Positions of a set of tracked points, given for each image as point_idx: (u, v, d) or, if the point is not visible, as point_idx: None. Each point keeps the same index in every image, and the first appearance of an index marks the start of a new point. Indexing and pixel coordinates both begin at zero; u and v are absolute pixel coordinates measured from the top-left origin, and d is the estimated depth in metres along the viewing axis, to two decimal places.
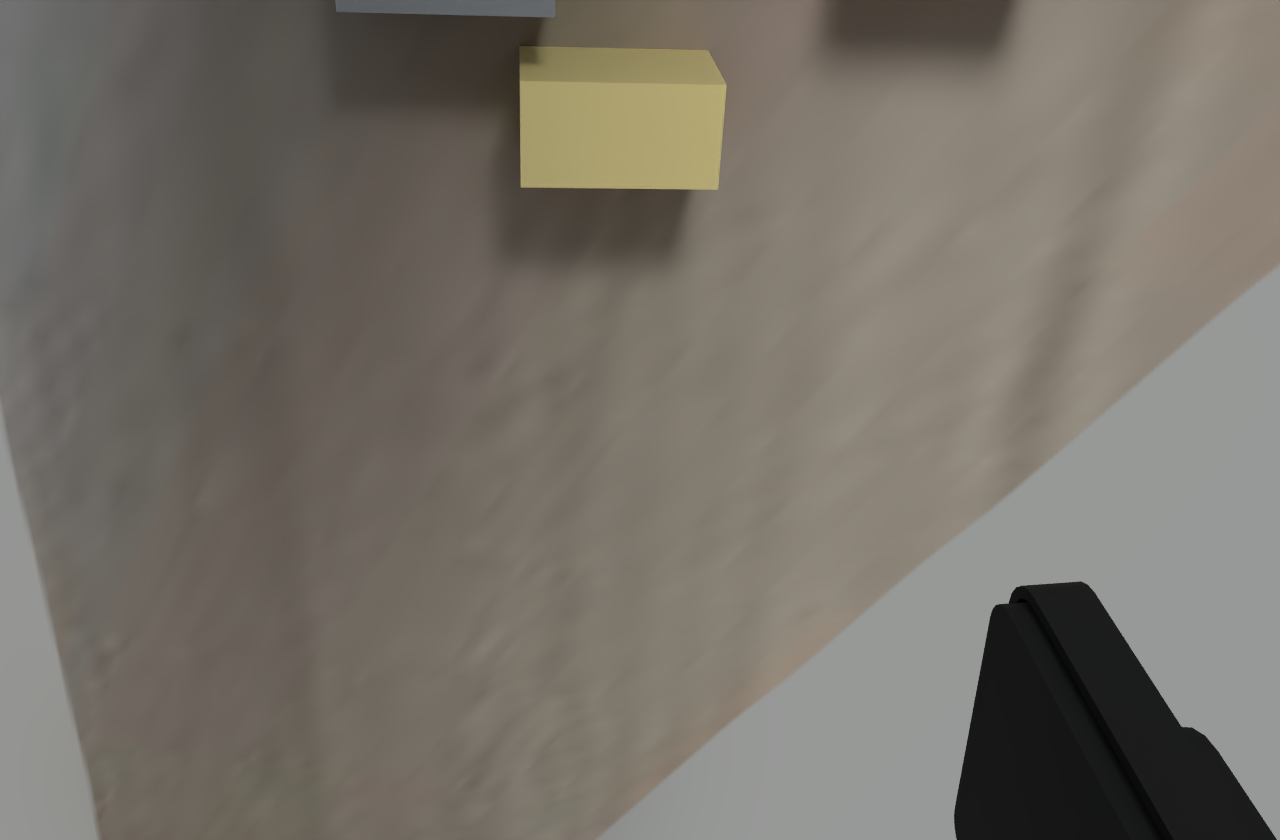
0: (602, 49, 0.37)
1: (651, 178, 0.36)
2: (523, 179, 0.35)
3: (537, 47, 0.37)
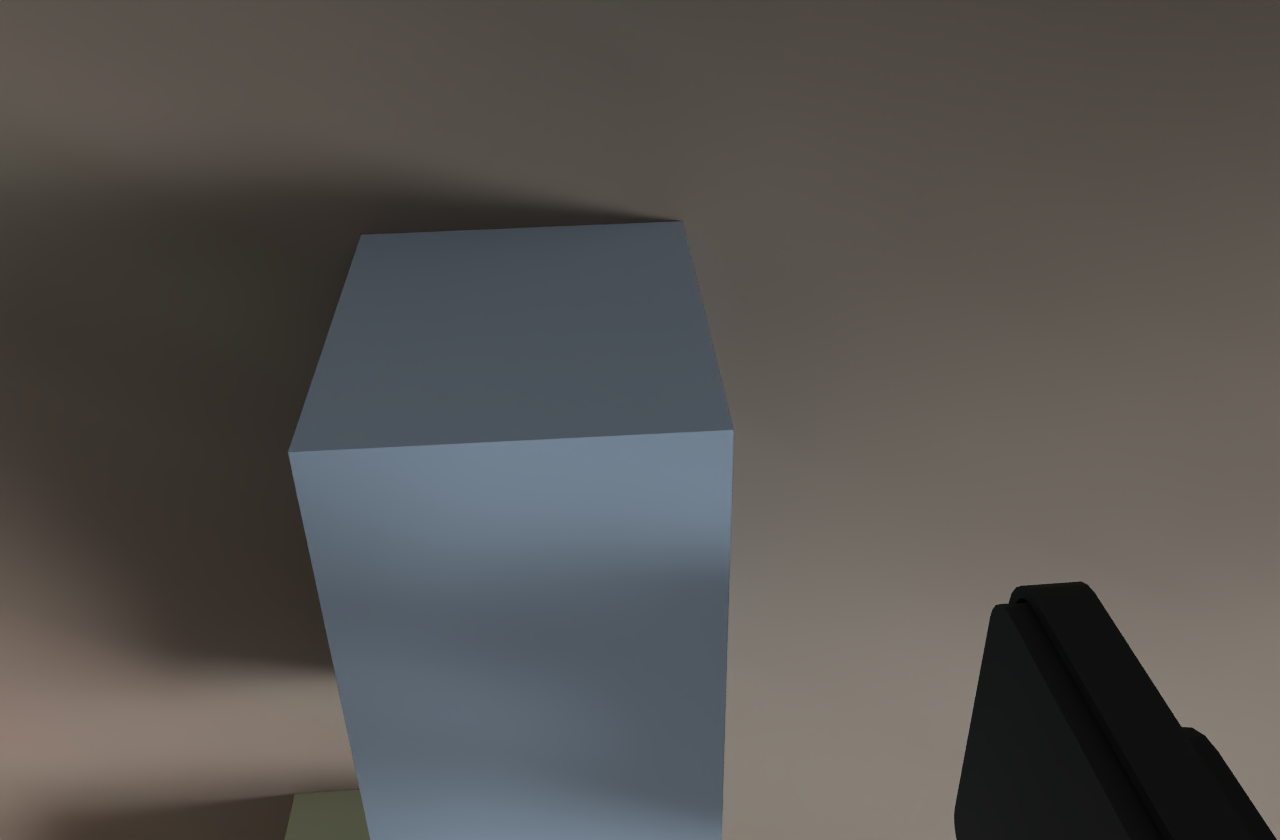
0: None
1: None
2: None
3: None
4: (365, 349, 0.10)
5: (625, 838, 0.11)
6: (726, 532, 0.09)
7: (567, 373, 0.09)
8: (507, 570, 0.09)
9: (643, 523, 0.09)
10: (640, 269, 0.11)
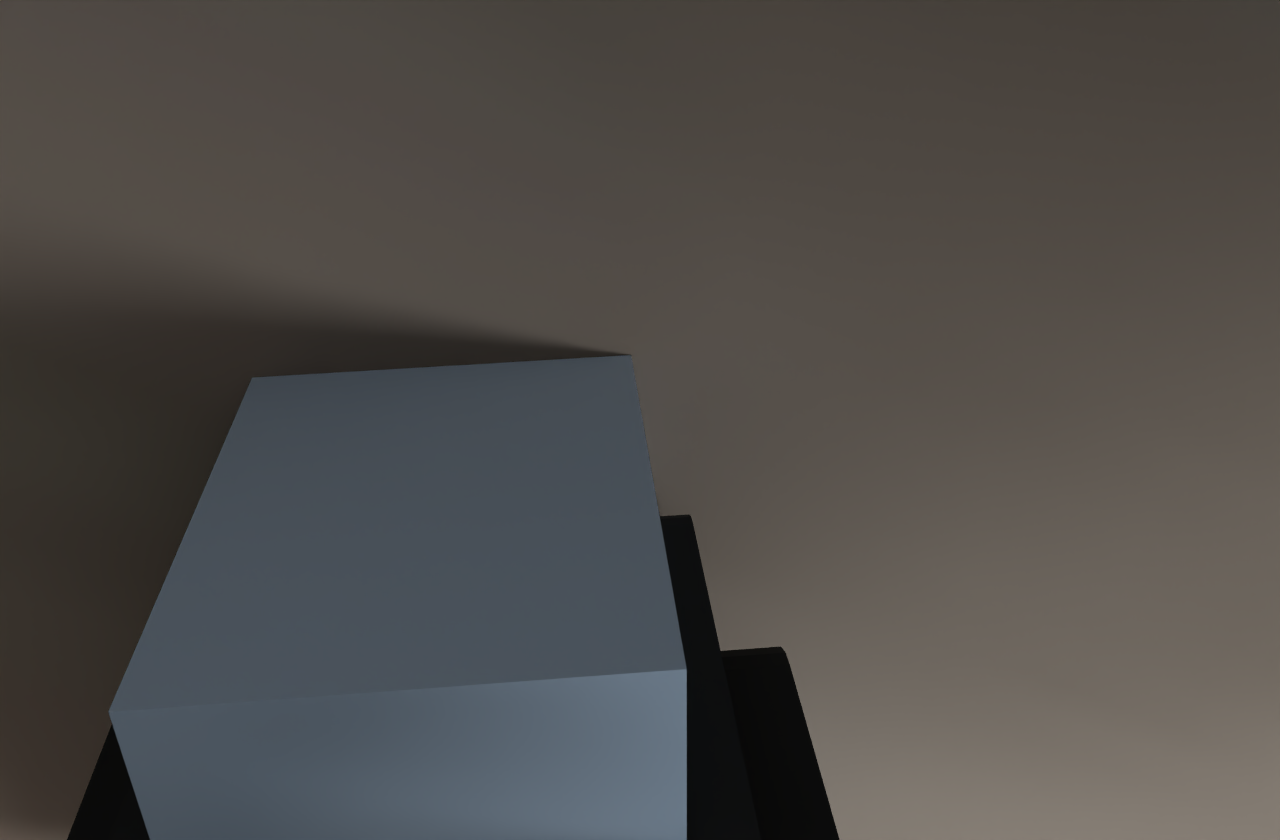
0: None
1: None
2: None
3: None
4: (232, 548, 0.08)
5: None
6: (681, 786, 0.07)
7: (481, 582, 0.07)
8: (404, 839, 0.07)
9: (574, 779, 0.07)
10: (579, 428, 0.09)
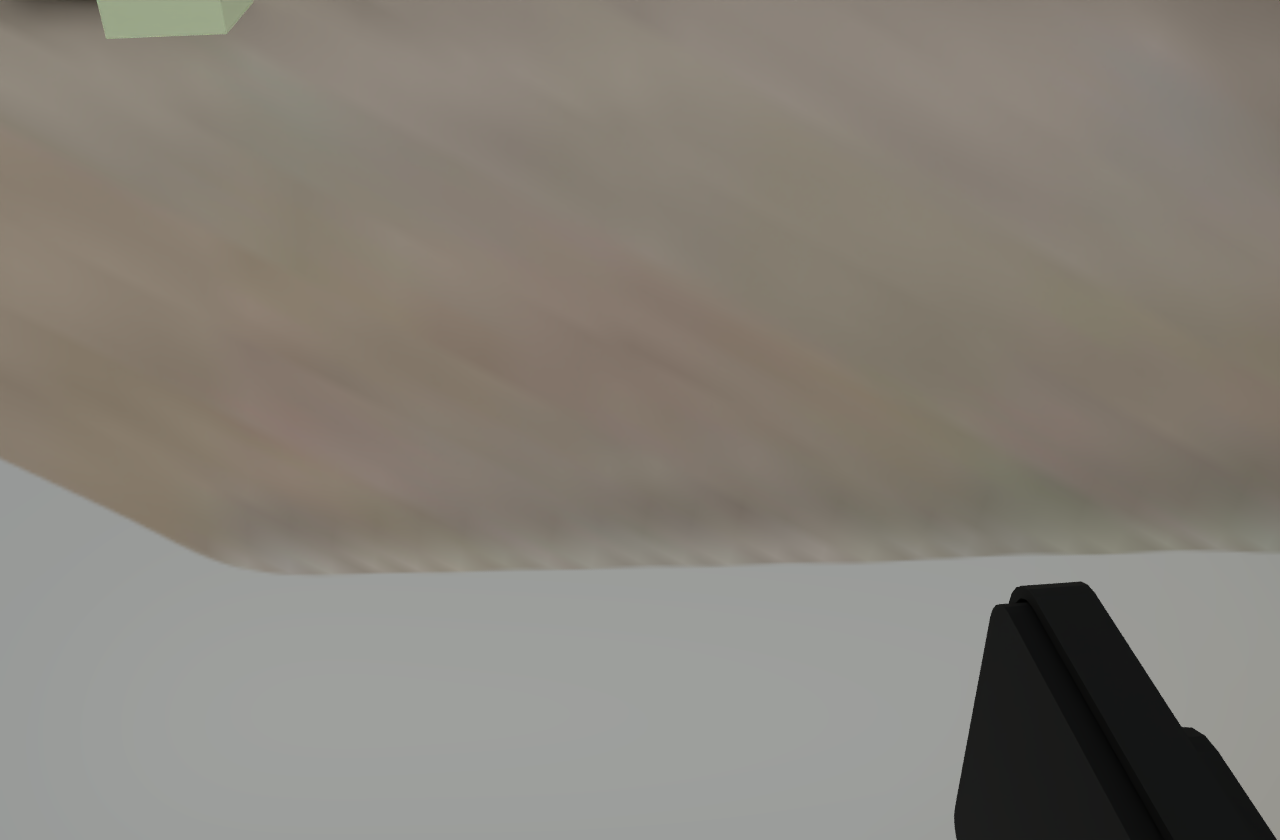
0: None
1: None
2: None
3: None
4: None
5: None
6: None
7: None
8: None
9: None
10: None
